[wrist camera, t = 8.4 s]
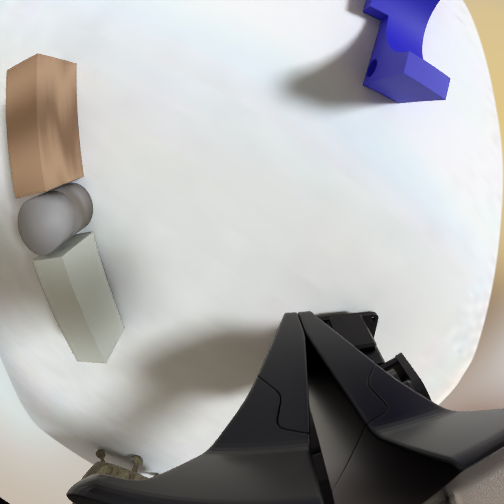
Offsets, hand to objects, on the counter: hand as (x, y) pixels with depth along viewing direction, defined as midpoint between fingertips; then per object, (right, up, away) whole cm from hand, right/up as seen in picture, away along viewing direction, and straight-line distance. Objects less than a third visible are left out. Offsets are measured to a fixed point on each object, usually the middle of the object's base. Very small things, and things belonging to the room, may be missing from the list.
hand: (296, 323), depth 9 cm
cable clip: (+9, +19, +6) cm, 21 cm away
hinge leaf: (-15, +1, +12) cm, 19 cm away
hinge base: (-16, +10, +8) cm, 20 cm away
